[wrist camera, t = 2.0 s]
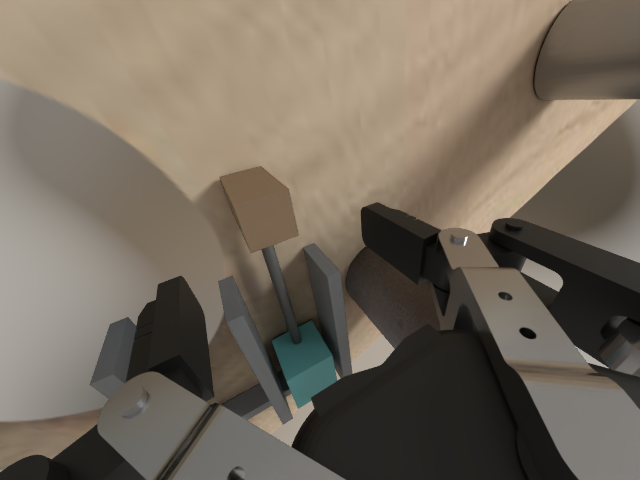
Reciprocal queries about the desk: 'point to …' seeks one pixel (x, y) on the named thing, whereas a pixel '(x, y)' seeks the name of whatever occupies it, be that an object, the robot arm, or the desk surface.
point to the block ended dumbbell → (280, 276)
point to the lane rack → (247, 342)
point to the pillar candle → (390, 297)
